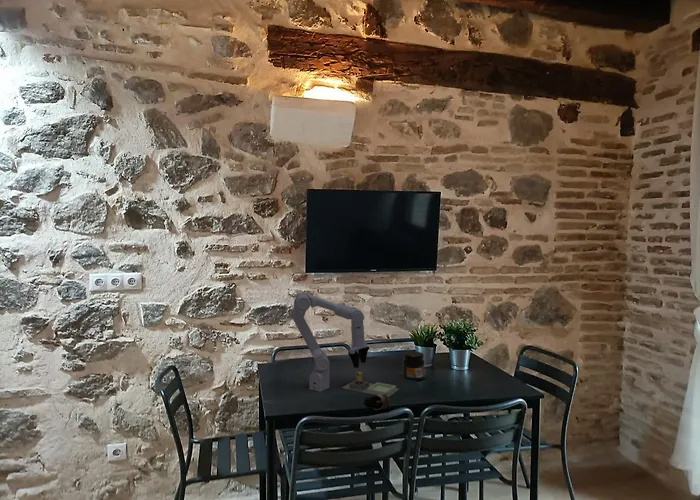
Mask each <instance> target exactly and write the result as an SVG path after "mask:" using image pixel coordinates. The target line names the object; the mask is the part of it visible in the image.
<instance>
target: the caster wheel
mask: <svg viewBox="0 0 700 500" xmlns="http://www.w3.org/2000/svg"><path fill="white" fill-rule="evenodd" d="M386 393H387V391H386ZM386 393H379V394H370V396H367V397H366V398H364V405H365V406H367V407H371V406H372V409H373V410H375V411H379V410H385V409H388V408H389V411H390V410H391V409H390V404H389V403H390V398H389V397H388V395H387V397H386ZM374 406H375V407H374ZM378 407H380V408H378Z"/></svg>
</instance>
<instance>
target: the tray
mask: <svg viewBox="0 0 700 500" xmlns="http://www.w3.org/2000/svg"><path fill="white" fill-rule="evenodd" d="M373 384H374V385H373V386H371V387H369V388H368V389H367V392H369V393H368V394H370V393H374V394H379V393H386V391H387V393H386V395H388V394H389V393H391V392H392V391H394V390H395V389H396V388H397V385H394V384H393V385H392V384H389V383H383V382H376V383H373Z"/></svg>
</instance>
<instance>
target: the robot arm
mask: <svg viewBox="0 0 700 500" xmlns="http://www.w3.org/2000/svg"><path fill="white" fill-rule="evenodd" d="M310 307H311V308H313V309H314V308H315V307H320V308H323V309H326V310H328V311H332V312H334V313H333V314H334V315H335V316H337V317H340V318H344V319H345V320H350V323H351V324H350V325H351V326H350V329H351V330H350V331H351V343H352V344H351V348H350V349H349V352H348V356H349V357H350V360H351V362H352V366H353V368H354V369H355V368H356V369H358V368H359V367H360V363H363V364H366V362H367V356H368V352H369V350H370V346H368V341H366V340H365V326H364V321H365V316H364V313H363V312H362V310H361V309H359V308H357V307H355V306H349V305H346V303H345V302H338V303H337V304H336V303H334V302H330V301H328V300H326V299H324V298H320V297H318V296H316V295H312V294H307V293H305V292H301V293H298V294H297V295H296V297H295V299H294V301H293V307H292V308H293V309H292V321H293V322H294V324H295V326H296V328H297V329H298V332H299V333H300V335H301V337H302V338H303V341H304V342H305V344H306V345H307V346H306V347H307V348H308V350H309V351H310V353H311V355H312V358H313V362H314V367H313V370H312V372H311V373H310V374H309V378H308V383H309V384H308V387H309V390H310V391H316V392H322V391H324V390H327V389H329V388H330V381H331V380H330V378H331V377H330V364H331V363H330V360H329V357H328V355H327V353H326V352H324V351H323V350H322V348H321V346H320V344H319V343H318V342H317V339H316V338H315V336H314V334H313V332H312V331H311V328H310V326H309V325H308V323H307V321H306V319H305V316H306V312H307V311H308V310H309V308H310Z"/></svg>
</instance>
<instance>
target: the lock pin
mask: <svg viewBox="0 0 700 500" xmlns="http://www.w3.org/2000/svg"><path fill="white" fill-rule="evenodd" d="M355 375H356V380H357V384H362V381H363V375H364V372H363V371H362V370H357V371H355Z"/></svg>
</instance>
